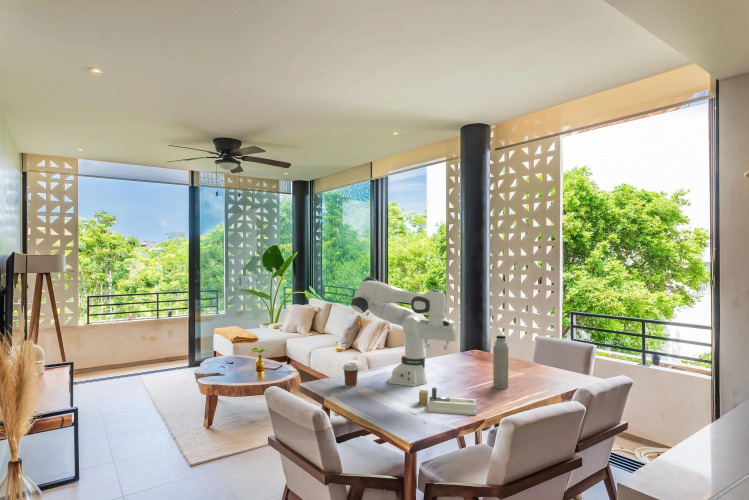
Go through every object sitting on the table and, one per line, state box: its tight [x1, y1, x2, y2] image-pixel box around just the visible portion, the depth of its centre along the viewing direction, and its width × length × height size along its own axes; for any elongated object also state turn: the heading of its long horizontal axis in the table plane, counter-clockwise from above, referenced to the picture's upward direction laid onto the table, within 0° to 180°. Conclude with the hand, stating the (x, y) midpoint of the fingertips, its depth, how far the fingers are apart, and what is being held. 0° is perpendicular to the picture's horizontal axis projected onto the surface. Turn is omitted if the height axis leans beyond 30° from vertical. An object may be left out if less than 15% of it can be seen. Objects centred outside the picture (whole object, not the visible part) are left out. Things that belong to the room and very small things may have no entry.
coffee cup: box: [342, 362, 360, 388], centre depth 245 cm, size 9×9×12 cm
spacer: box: [418, 389, 429, 406], centre depth 217 cm, size 4×4×6 cm
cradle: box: [427, 395, 478, 416], centre depth 209 cm, size 22×12×4 cm, turn 79°
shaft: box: [429, 387, 450, 402], centre depth 210 cm, size 9×3×7 cm, turn 79°
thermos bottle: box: [492, 335, 509, 390], centre depth 245 cm, size 8×8×28 cm
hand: (437, 348), depth 225 cm, fingers open, 8 cm apart
